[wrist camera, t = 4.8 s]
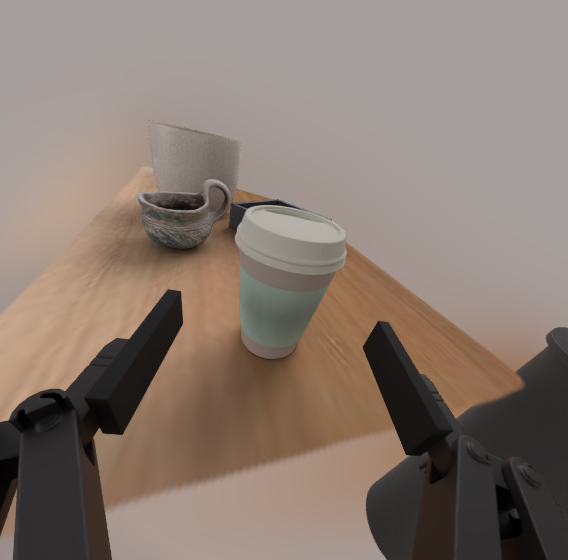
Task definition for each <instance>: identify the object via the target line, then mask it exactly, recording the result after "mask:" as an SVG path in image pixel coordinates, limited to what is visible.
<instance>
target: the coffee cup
mask: <svg viewBox="0 0 568 560" xmlns="http://www.w3.org/2000/svg"><path fill="white" fill-rule="evenodd" d="M235 242H236V244H237V246H238V247H239V276H240V322H241V339H242V341H243V343H244V345H245V346H246V348H247V349H248V350H249V351H251V352H252V353H254V354H255V355H257V356H260V357H263V358H267V359H278V358H282V357H285V356H287V355H289V354H290V353H291V352H293V350H294V349H295V347H296V346H297V344H298V342H299V340H300V338H301V336H302V335H303V333H304V331H305V329H306V327H307V325H308V323H309V322H310V320H311V318H312V316H313V314H314V312H315V310H316V309H317V307H318V305H319V303H320V301H321V299H322V297H323V296H324V294H325V292H326V290H327V288H328V286H329V284H330V282H331V281H332V279H333V277H334V275H335V273H336V271H338V270H339V269H341V268H342V267H343V266H344V264H345V257H346V254H347V251H346V248H345V246H346V232H345V231H344V230H343V229H342V228H341V227H340V226H339V225H337V224H336V223H334V222H332V221H330V220H328V219H326V218H324V217H322V216H319V215H316V214H313V213H310V212H307V211H303V210H299V209H295V208H290V207H284V206H274V205H260V206H254V207H251V208H249V209H247V210H246V212H245V215H244V217H243V220H242V222H241V223H240V224H239V226H238V227H237V233H236V235H235Z"/></svg>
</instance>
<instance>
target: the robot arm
mask: <svg viewBox="0 0 568 560" xmlns="http://www.w3.org/2000/svg"><path fill="white" fill-rule="evenodd" d="M182 325H183V315H182V300H181V291H175V290H169V289H168V290H167V291H166V293H165V294H164V295H163V296H162V298H161V299H160V300H159V302H158V303H157V304H156V305H155V307H154V308H153V309H152V311H151V312H150V313H149V314H148V316H147V317H146V318H145V320H144V321H143V322H142V323H141V325H140V326H139V327H138V329H137V330H136V331H135V332H134V334H133V335H132V336H131V338H130V339H121V338H116V339H115V340H113V341H112V342H110V343H109V344H107V345H106V346H104V348H103V349H102V350H101V351H100V352H99V353H98V354H97V356H96V358H94V359H93V360H92V361H91V363H90V364H89V366H87V367H86V368H85V369H84V371H83V372H82V373H81V374H80V375H79V376H78V377H77V379H76V380H75V381H74V382H73V383H72V384H71V385H70V387H69V388H68V389H67V390H66V391H63V390H61V389H48V390H44V391H41V392H38V393H36V394H34V395H32V396H30V397H29V398H27V399H26V400H24V401H23V402H22V403H20V404H19V405H18V406H17V408H16V409H15V410H14V411H13V412H12V414H11V416H10V419H9V420H8V421H4V422H0V535H1V532H2V529H3V526H4V524H5V521H6V518H7V515H8V512H9V509H10V506H11V503H12V500H13V498H14V495H15V492H16V489H17V501H16V518H15V534H14V551H13V560H112V557H111V550H110V543H109V537H108V530H107V523H106V516H105V510H104V503H103V496H102V489H101V483H100V476H99V469H98V463H97V456H96V449H95V442H94V439H93V437H94V435H95V434H96V432H97V431H98V429H99V427H100V429H101V431H102V433H103V434H117V435H123V433H124V431H125V429H126V427H127V426H128V424H129V422H130V420H131V418H132V416H133V415H134V413H135V411H136V409H137V407H138V405H139V404H140V402H141V400H142V398H143V396H144V394H145V393H146V391H147V389H148V387H149V385H150V383H151V382H152V380H153V378H154V376H155V374H156V372H157V371H158V369H159V367H160V365H161V363H162V361H163V359H164V358H165V356H166V354H167V352H168V350H169V348H170V347H171V345H172V343H173V341H174V339H175V337H176V336H177V334H178V332H179V330H180V328H181V326H182ZM363 350H364V352H365V355H366V357H367V360H368V362H369V365H370V367H371V369H372V372H373V374H374V377H375V379H376V382H377V384H378V387H379V389H380V392H381V394H382V397H383V399H384V402H385V404H386V407H387V409H388V412H389V414H390V416H391V419H392V421H393V424H394V426H395V429H396V431H397V434H398V436H399V439H400V441H401V444H402V446H403V449H404V451H405V454H406V455H413V456H421V455H422V454H423V453H425V452H426V451H427V452H428V454H429V456H430V458H429V459H427V460H426V461H425V462H423V463H422V464H420V466H419V469H420V470H422V469H423V468H425V467H426V472H425V479H424V485H423V492H422V498H421V505H420V511H419V518H418V524H417V531H416V537H415V544H414V550H413V557H412V560H568V525H567V523H566V521H565V519H564V517H563V515H562V513H561V511H560V509H559V507H558V505H557V503H556V501H555V499H554V497H553V494H552V492H551V490H550V488H549V486H548V484H547V483H546V481H545V480H544V478H543V477H542V476H541V475H540V473H539V472H538V471H537V470H536V469H535V468H534V467H533V466H531V465H530V464H529V463H528V462H526V461H525V460H523V459H521V458H518V457H511V458H509V459H507V460H504V459H502V458H499V457H497V456H495V455H492V454H490V453H488V452H487V451H486V449H485V448H484V447H483V446H482V445H481V444H480V443H479V442H477V441H476V440H475V439H473V438H471V437H470V436H466V434H465V433H464V431H463V430H462V428H461V427H460V425H459V424H458V422H457V420H456V419H455V417H454V416H453V414H452V413H451V411H450V409H449V408H448V406H447V405H446V403H444V400H443V398H442V397H441V395H439V392H438V391H437V389H436V387H435V386H434V384H433V383H432V382H431V381H430V380H429V379H428V378H427V377H426V376H425V375H423V374H419V372H418V370H417V369H416V367H415V365H414V364H413V362H412V360H411V359H410V357H409V355H408V354H407V352H406V350H405V349H404V347H403V345H402V344H401V342H400V341H399V339H398V337H397V336H396V334H395V332H394V331H393V329H392V327H391V326H390V324H389V322H383V321H378V322H377V324H376V326H375V327H374V329H373V331H372V332H371V334H370V336H369V337H368V339H367V341H366V342H365V344H364V346H363ZM515 508H516V509H517V512H518V514H519V517H520V518H516V517H515V515H514V512H513V509H515Z"/></svg>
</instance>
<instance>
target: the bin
mask: <svg viewBox="0 0 568 560" xmlns="http://www.w3.org/2000/svg"><path fill="white" fill-rule="evenodd" d="M260 205H274V206H284V207H290V208H295V209H299V210H303V211H307V212H310V211H308V210H305V209H303V208H300V207H297V206H295V205H292V204H289V203H286V202H284V201H281V200H278V199H273V200H262V201H250V202H239V203H231V210H230V223H229V226H230V227H232V228H234V229H236V230H237V227H238V226H239V224H240V223H241V222H242V220H243V217H244V215H245V212H246V210H247V209H249V208H251V207H254V206H260ZM310 213H313V212H310ZM313 214H316V213H313ZM316 215H319V214H316ZM319 216H321V215H319ZM322 217H324V216H322ZM324 218H326V217H324ZM326 219H328V220H330V221H332V219H329V218H326Z"/></svg>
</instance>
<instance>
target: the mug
mask: <svg viewBox="0 0 568 560" xmlns="http://www.w3.org/2000/svg"><path fill="white" fill-rule="evenodd" d="M211 187H216V188H219V189H220V190H221V191H222V192H223V193H224V195H225V200H224V202H223V204H222V206H221V207H220V209H218V210H217V211H215V212H209V211H208V207H209V199H208V193H209V191H210V189H211ZM138 201H139V202H140V204H141V205H142V208H143V214H142V215H143V216H142V217H143V225H144V228H145V231H146V232H147V234H148V236H149V237H150V238H151V239H152V240H154V241H155V242H157V243H158V244H160V245H163V246H165V247H169V248H186V249H187V248H192V247H195V246H197V245H200V244H202V243H203V242H204V241H205V240H206V239H207V237H208V236H209V234H210V231H211V227H212V224H213V223H214V222H216V221H217V220H218V219H220V218H221V217H222V216H223V215H224V214H225V213H226V211H227V210H228V208H229V206H230V202H231V195H230V192H229V190H228V188H227V187H226V185H225V184H223V183H222V182H220V181H218V180H214V179H210V180H206V181H205V182H204V183H203V184H202V187H201V190H200V192H198V193H189V192H164V191H163V192H155V191H151V192H144V193H140V194H138Z"/></svg>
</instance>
